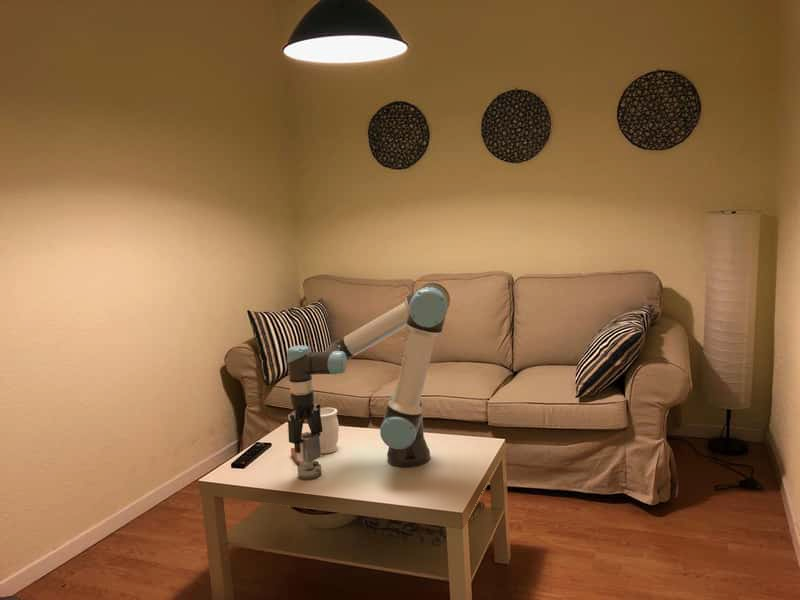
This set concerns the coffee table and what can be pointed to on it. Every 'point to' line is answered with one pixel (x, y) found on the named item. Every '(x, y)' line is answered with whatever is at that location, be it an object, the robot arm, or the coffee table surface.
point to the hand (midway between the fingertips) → (308, 457)
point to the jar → (328, 430)
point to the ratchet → (307, 468)
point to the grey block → (310, 447)
